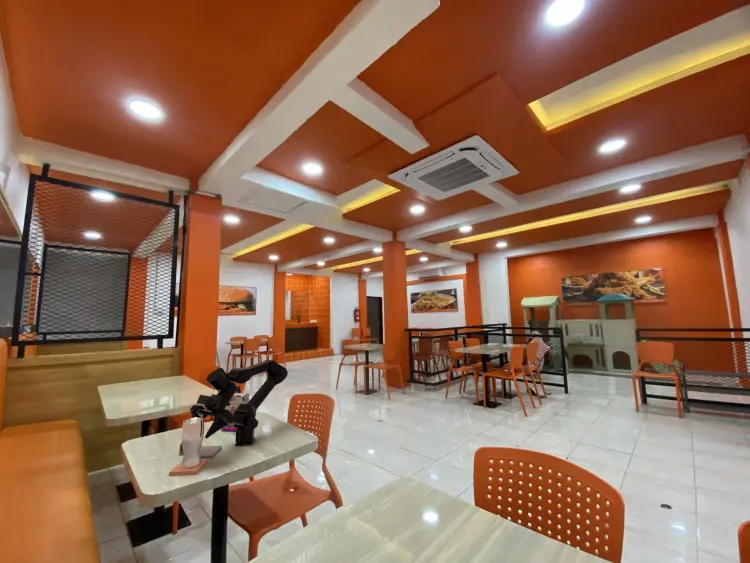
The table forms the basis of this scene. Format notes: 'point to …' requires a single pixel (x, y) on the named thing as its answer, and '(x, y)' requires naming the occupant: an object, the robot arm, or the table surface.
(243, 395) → the candy bar box
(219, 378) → the robot arm
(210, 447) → the slate tile
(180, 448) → the walnut block
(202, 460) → the terracotta tile
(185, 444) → the beer glass
